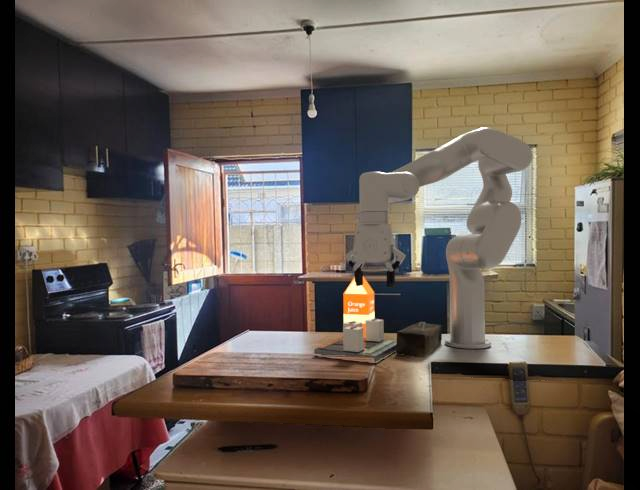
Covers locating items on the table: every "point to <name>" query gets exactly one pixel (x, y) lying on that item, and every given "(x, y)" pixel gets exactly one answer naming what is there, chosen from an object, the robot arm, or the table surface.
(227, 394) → the table surface
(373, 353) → the panel
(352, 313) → the orange juice
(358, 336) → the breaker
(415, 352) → the beverage carton
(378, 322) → the breaker
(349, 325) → the breaker mid
